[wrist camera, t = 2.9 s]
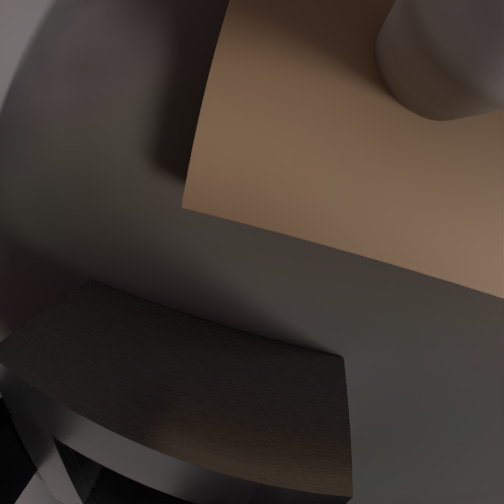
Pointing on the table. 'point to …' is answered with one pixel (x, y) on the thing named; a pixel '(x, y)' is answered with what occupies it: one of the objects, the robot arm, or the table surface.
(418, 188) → the tan knobbed plate
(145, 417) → the hollow square frame
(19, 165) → the table surface
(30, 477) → the robot arm
